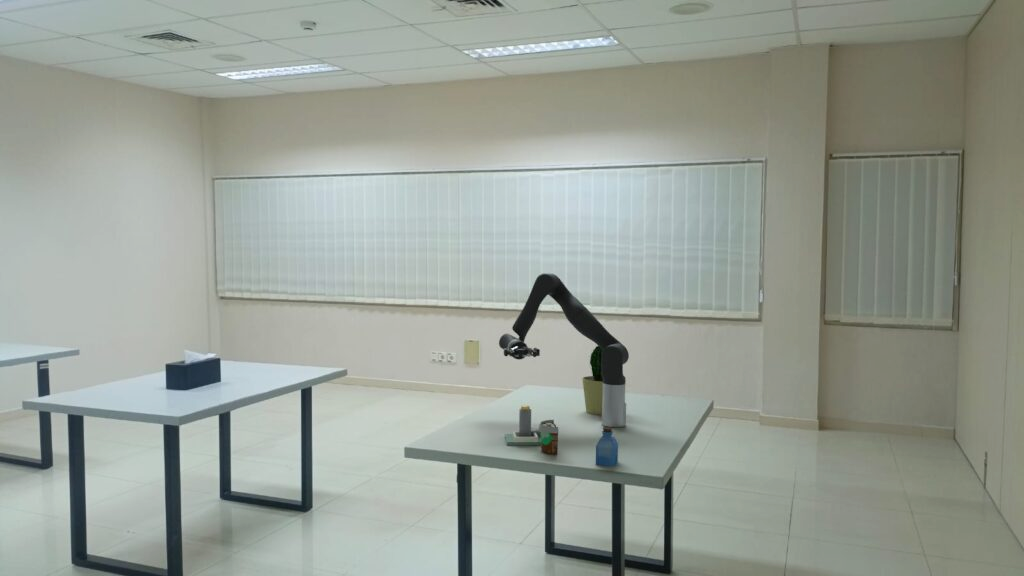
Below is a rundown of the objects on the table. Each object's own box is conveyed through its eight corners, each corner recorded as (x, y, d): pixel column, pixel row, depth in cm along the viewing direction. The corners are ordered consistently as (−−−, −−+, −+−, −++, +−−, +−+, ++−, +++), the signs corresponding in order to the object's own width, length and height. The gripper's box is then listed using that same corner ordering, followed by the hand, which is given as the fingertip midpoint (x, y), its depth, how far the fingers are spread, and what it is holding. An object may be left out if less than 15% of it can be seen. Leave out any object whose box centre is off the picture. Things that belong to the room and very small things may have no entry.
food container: (536, 446, 267) (536, 419, 266) (553, 446, 267) (553, 419, 267) (540, 456, 254) (540, 427, 254) (558, 456, 255) (558, 427, 255)
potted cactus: (580, 414, 321) (581, 346, 319) (582, 407, 336) (583, 341, 334) (616, 416, 318) (617, 347, 317) (616, 408, 334) (618, 343, 332)
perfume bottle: (617, 461, 249) (618, 426, 249) (614, 466, 244) (614, 430, 243) (599, 459, 251) (600, 424, 251) (595, 464, 246) (596, 429, 245)
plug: (530, 437, 275) (530, 405, 274) (531, 440, 270) (532, 407, 270) (518, 437, 274) (518, 405, 274) (519, 440, 270) (520, 407, 270)
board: (541, 436, 281) (541, 428, 281) (545, 445, 269) (545, 436, 268) (504, 437, 280) (504, 428, 280) (507, 445, 268) (507, 436, 267)
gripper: (500, 340, 305) (506, 345, 289) (534, 340, 307) (542, 345, 291) (500, 358, 305) (506, 364, 289) (534, 357, 307) (542, 363, 291)
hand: (524, 354), depth 290 cm, fingers open, 8 cm apart
